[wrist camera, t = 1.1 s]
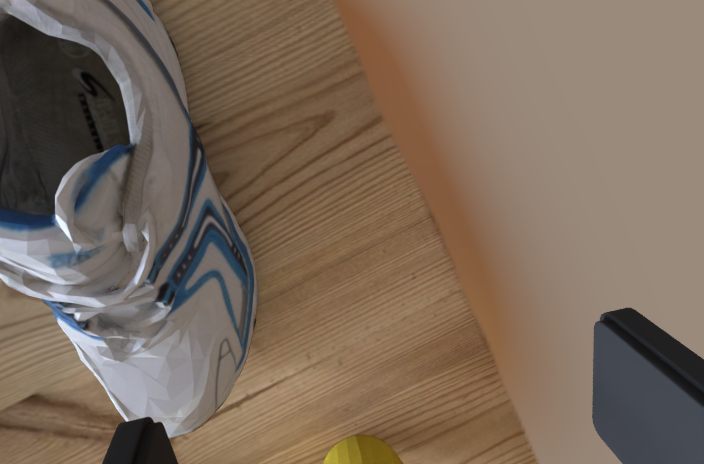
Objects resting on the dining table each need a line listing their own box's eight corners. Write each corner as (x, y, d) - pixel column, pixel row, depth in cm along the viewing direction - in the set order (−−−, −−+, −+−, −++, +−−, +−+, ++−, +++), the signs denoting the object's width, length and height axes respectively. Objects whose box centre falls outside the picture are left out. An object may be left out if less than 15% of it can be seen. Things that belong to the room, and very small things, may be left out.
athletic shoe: (132, 413, 30) (126, 582, 19) (-93, 11, 22) (-312, -76, 12) (286, 338, 33) (356, 451, 22) (134, -43, 25) (127, -154, 14)
